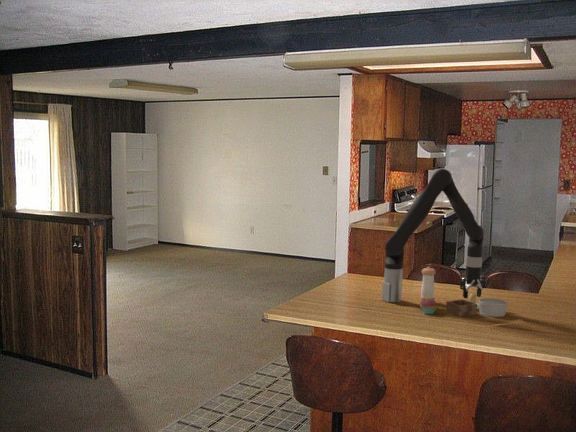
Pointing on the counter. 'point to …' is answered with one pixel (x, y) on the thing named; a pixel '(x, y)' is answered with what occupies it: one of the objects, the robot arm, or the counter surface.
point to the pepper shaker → (427, 284)
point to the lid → (473, 299)
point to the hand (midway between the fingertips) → (472, 297)
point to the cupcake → (428, 305)
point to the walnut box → (461, 308)
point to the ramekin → (492, 307)
